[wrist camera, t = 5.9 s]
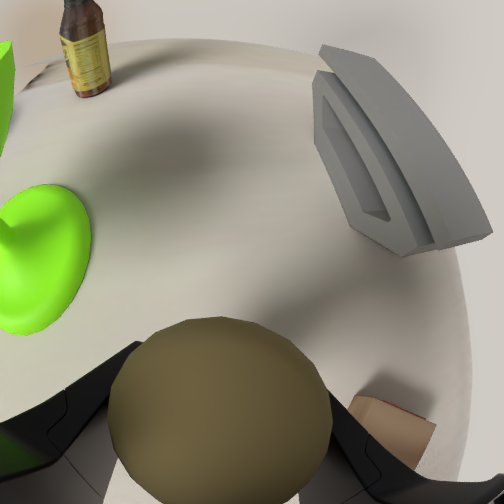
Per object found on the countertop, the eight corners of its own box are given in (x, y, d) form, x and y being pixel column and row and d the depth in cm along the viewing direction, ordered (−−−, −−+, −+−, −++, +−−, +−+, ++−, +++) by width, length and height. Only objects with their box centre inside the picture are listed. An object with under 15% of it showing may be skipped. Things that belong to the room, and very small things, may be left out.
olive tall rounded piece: (245, 325, 16) (321, 248, 6) (276, 419, 14) (396, 485, 4) (145, 350, 14) (39, 314, 4) (177, 446, 12) (140, 564, 2)
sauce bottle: (81, 82, 30) (64, -21, 12) (116, 75, 31) (108, -34, 13) (69, 105, 28) (44, -11, 10) (108, 96, 29) (93, -28, 11)
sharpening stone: (421, 274, 26) (493, 231, 16) (371, 289, 24) (452, 241, 14) (344, 114, 35) (374, 58, 25) (297, 109, 33) (322, 44, 23)
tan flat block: (374, 497, 15) (391, 506, 13) (303, 481, 16) (317, 494, 13) (417, 420, 19) (437, 422, 16) (355, 393, 20) (375, 395, 17)
